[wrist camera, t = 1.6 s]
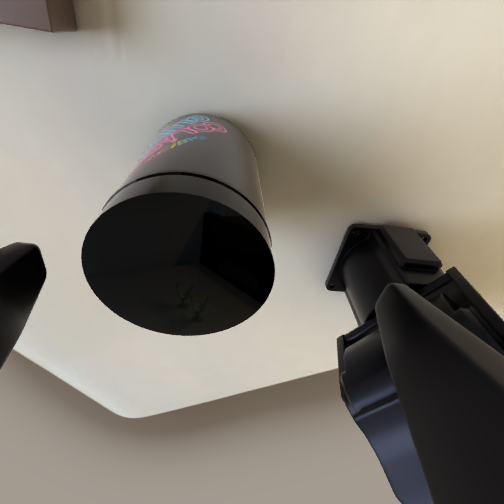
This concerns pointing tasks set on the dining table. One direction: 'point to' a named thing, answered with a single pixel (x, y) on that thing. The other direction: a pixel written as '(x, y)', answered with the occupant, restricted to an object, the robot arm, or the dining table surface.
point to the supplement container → (185, 233)
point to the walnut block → (39, 14)
